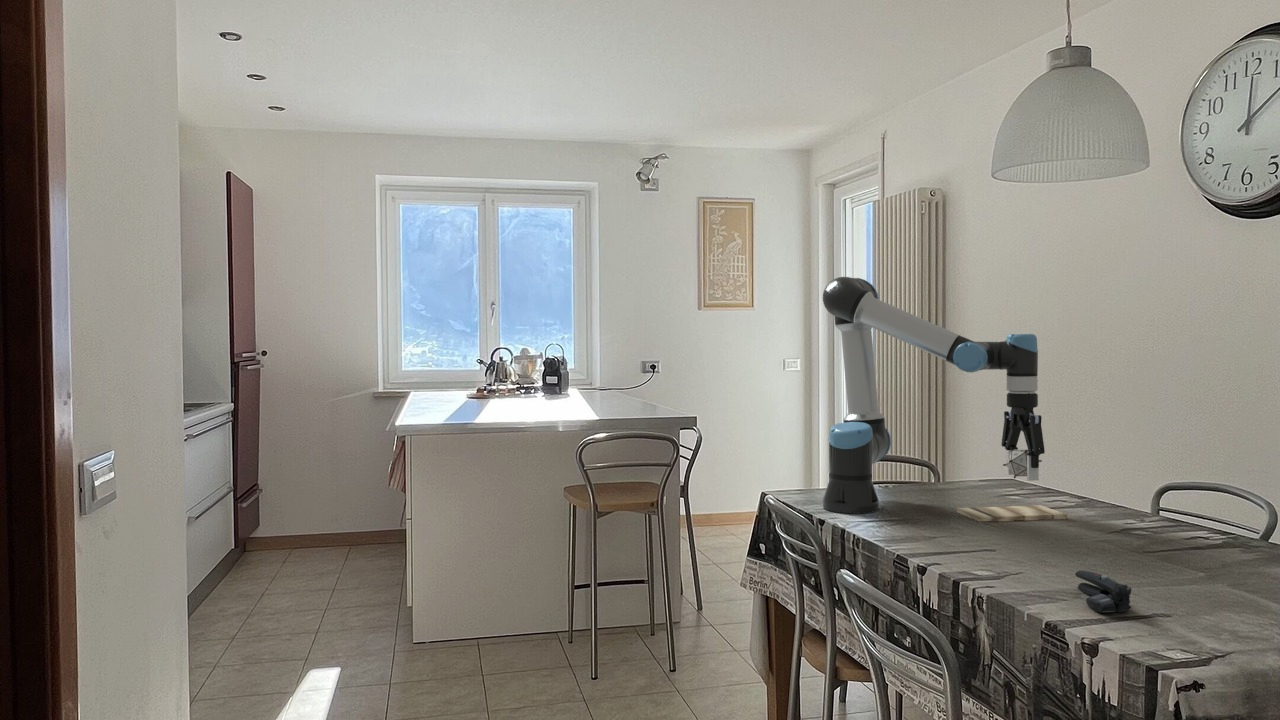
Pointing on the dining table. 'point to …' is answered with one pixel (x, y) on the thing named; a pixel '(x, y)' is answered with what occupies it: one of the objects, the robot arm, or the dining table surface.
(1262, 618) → the dining table surface
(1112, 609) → the can opener
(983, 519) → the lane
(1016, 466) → the game die
